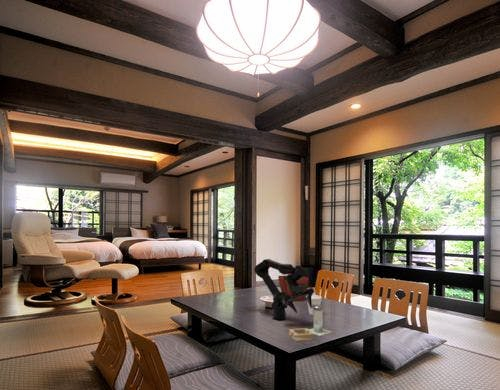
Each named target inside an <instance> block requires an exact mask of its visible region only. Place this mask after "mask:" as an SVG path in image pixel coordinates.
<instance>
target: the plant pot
mask: <svg viewBox="0 0 500 390" xmlns="http://www.w3.org/2000/svg"><path fill="white" fill-rule="evenodd" d="M287 275H288V274H285V275H277V277H278V282H279V287H280V292H285V294H286V296H287V295H290V296H292V293H291V290H290V289H289V286H288V283H287V281H286V280H285V281H284V280H283V279H284V276H287ZM309 280H310V279H309V278H308V277H307V276H304V277H303V278H302V279H300V280H299V281H297V282H298V283H299V284H300V285H301V283H305V284H306V287H307V288H306V289H308V286H309ZM306 289H304V290H305V291H306ZM305 291H303V292H305ZM305 299H306V295H304V296H301V297H298V298H295V299H292V301H293V302H297V301H298V302H301V301H304V300H305Z"/></svg>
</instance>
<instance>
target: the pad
mask: <svg viewBox="0 0 500 390" xmlns="http://www.w3.org/2000/svg"><path fill="white" fill-rule="evenodd" d="M308 329H309V330H310V331H311V332H312V333H314V334H315V336H318V337H321V336H324V335H327V334H331V333H332V331H331V330H328V329H325V328H323V332H321V333H317V332H314V327H313V328H308Z"/></svg>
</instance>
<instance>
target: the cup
mask: <svg viewBox="0 0 500 390" xmlns="http://www.w3.org/2000/svg"><path fill="white" fill-rule="evenodd" d="M306 297H307V296H306V295H305V298H306ZM322 298H323V297H322V296H320V295H316V294H313V295H312V296H311V302H312V305H321V303H322ZM306 302H307V308H308V314H309V315H310V316H313V308H311V307H310V306H309V303H308V301H307V300H306Z"/></svg>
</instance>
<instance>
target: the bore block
mask: <svg viewBox="0 0 500 390" xmlns="http://www.w3.org/2000/svg"><path fill="white" fill-rule="evenodd" d="M309 329H310V328H307V327H301V328H290V329H288V335H289V336H290V337H291V338H292V339H293V340H294V341H295V342H301V341H313V340H316V337H315V336H316V335H315V334H314V333H312V332H311V331H310V330H309Z"/></svg>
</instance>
